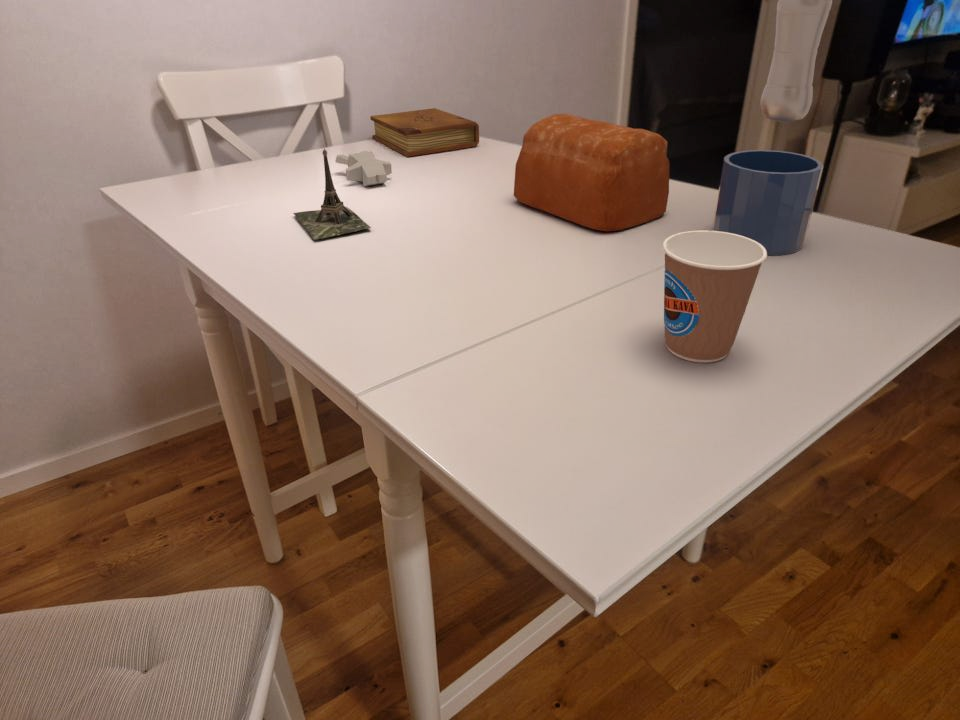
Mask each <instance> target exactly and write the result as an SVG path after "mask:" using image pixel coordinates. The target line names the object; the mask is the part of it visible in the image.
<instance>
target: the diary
mask: <svg viewBox="0 0 960 720" xmlns="http://www.w3.org/2000/svg"><path fill="white" fill-rule="evenodd" d="M370 121H372V122H373V125H374V134H372V135H371V136H372V140H374V141H376V142H378V143H381V144H382V145H384V146H385V147H388V148H390V149H391V150H393V151H395V152H398V153H400V154H402V155H403V156H405V157H407V158H408V157H414V156H421V155H428V154H429V155H430V154H435V153H441V152H448V151H455V150H461V149H467V148H473V147H477V146H478V145H479V143H480V125H479V124H478V123H477V122H476V121H474V120H471V119H468V118H465V117H462V116H459V115H457V114H454V113H450V112H448V111H445V110H441V109H438V108H436V107H433V108H425V109H417V110H416V109H415V110H409V111H401V112H399V111H398V112H392V113H384V114H376V115H370Z"/></svg>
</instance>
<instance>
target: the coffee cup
mask: <svg viewBox="0 0 960 720" xmlns="http://www.w3.org/2000/svg"><path fill="white" fill-rule="evenodd" d="M662 249H663V252H664V279H663V280H664V283H663V284H664V285H663V293H664V294H663V324H664V338H665V346H666V349H667V350H668V351H669V352H670V353H671V354H672V355H674V356H676V357H677V358H680V359H682V360H685V361H688V362H693V363H705V364H706V363H715V362H719V361H721V360H723V359H725V358H727V356H728V355H729V354H730V351H731V348H733V346H734V344H735V341H736V338H737V335H738V332H739V329H740V326H741V323H742V321H743V318H744V315H745V313H746V310H747V306H748V304H749V301H750V298H751V295H752V292H753V289H754V287H755V284H756V280H757V279H758V278H757V277H758V275H759V272H760V269H761V267H762V263H763V262H764V261H766V259H767V257H768V256H767V252H766V249H765V248H764V247H763V246H762V245H761V244H760V243H758V242H756V241H754V240H752V239H750V238H747V237H744V236H741V235H737V234H733V233H728V232H721V231H712V230H708V229H707V230H706V229H705V230H704V229H703V230H701V229H700V230H699V229H698V230H689V231H681V232H678V233H674V234H672V235H670V236H668V237H667V238H666V239H665V240H664V241H663V242H662ZM762 254H763V255H762Z"/></svg>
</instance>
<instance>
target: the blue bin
mask: <svg viewBox="0 0 960 720" xmlns="http://www.w3.org/2000/svg"><path fill="white" fill-rule="evenodd" d="M823 169H824V164H823V162H822V161H821V160H819V159H817V158H815V157H814V156H813V157H812V156H809V155H806V154H802V153H796V152H793V151H784V150H771V149H751V150H750V149H749V150H748V149H747V150H741V151H735V152H731V153H729V154H727V155H725V156H724V157H723V161H722V167H721V174H720V179H719V184H718V192H717V196H716V203H715V210H714V214H713V215H714V216H713V222H712V228H711V231H721V232H728V233H733V234H737V235H741V236H744V237H747V238H750V239H752V240H754V241H756V242H758V243H760V244H761V245H762V246H763V247H764V248H765V249H766V252H767V257H768V256H772V257H773V256H786V255H789V254H790V255H791V254H793V253H797V252H799V251H800V250H802V249H803V247H804V245H805V242H806V239H807V235H808V231H809V227H810V223H811V218H812V215H813V211H814V207H815V202H816V198H817V194H818V190H819V186H820V182H821V178H822V173H823ZM762 256H763V254H762Z"/></svg>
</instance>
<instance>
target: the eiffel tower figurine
mask: <svg viewBox="0 0 960 720" xmlns="http://www.w3.org/2000/svg"><path fill="white" fill-rule="evenodd" d="M322 144H323V146H325V143H322ZM322 156H323V167H324V180H325V181H324V183H325V185H324V187H325V189H324V198H323V201H322V202H323V203H322V204H320V209H317V210H306V211H305V210H304V211H299V212H293V215H294V216H295V217H296V218H297V220H298V221H299V222H300V223H301V225H302V226H303V228H304V229H306V231H307V232H308V233H309V235H310V237H311V238H312V239H313V240H314V241H316V240H322V239H326V238H331V237H335V236H341V235H344V234H350V233H353V232H358V231H362V230H366V229H372V227H371V226H370V224H367V223H366V222H365V221H364V220H363V219H362V218H361V217H360V216H359V215H358V214H356V213H355V212H354V211H353V210H352V209H350V208H349V207H348V206H345V205H344V201H342V200H341V199H340V197H339V195H338V193H337V189H336V188H335V186H334V182H333V179H332V173H331V169H330V165H329V160H328V151H327V150H326V148H323V150H322Z"/></svg>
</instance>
